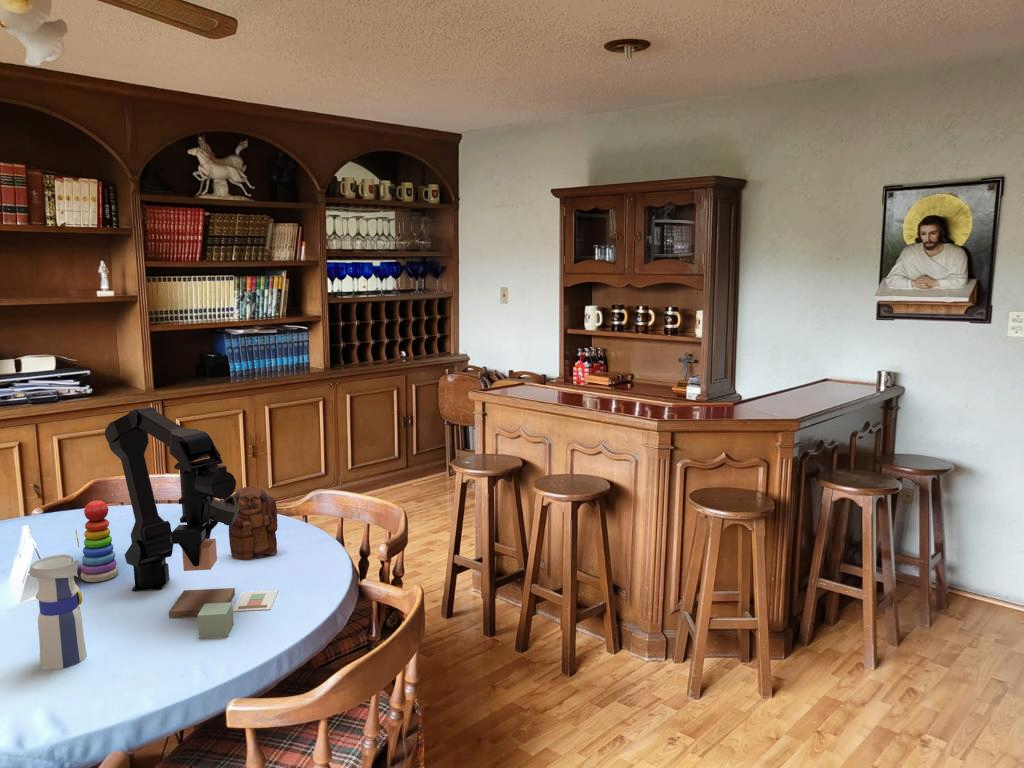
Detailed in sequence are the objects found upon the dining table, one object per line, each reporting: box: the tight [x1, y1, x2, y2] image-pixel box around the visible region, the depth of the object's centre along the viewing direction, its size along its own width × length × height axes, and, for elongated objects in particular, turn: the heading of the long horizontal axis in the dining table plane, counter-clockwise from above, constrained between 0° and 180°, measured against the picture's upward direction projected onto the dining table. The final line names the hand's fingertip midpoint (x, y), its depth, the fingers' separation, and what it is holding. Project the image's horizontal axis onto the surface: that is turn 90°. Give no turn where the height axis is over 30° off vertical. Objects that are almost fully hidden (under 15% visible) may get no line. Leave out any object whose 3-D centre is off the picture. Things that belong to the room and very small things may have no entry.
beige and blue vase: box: [29, 529, 88, 671], centre depth 147 cm, size 8×9×25 cm
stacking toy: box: [80, 499, 119, 583], centre depth 187 cm, size 8×8×19 cm
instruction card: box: [233, 589, 279, 613], centre depth 174 cm, size 8×10×1 cm
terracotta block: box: [181, 538, 218, 572], centre depth 170 cm, size 6×6×5 cm
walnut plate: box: [168, 587, 236, 619], centre depth 172 cm, size 11×11×2 cm
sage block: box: [197, 601, 235, 640], centre depth 160 cm, size 6×6×5 cm
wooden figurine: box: [228, 486, 278, 561], centre depth 201 cm, size 12×6×18 cm, turn 112°
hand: (200, 560), depth 171 cm, fingers closed on terracotta block, 5 cm apart
